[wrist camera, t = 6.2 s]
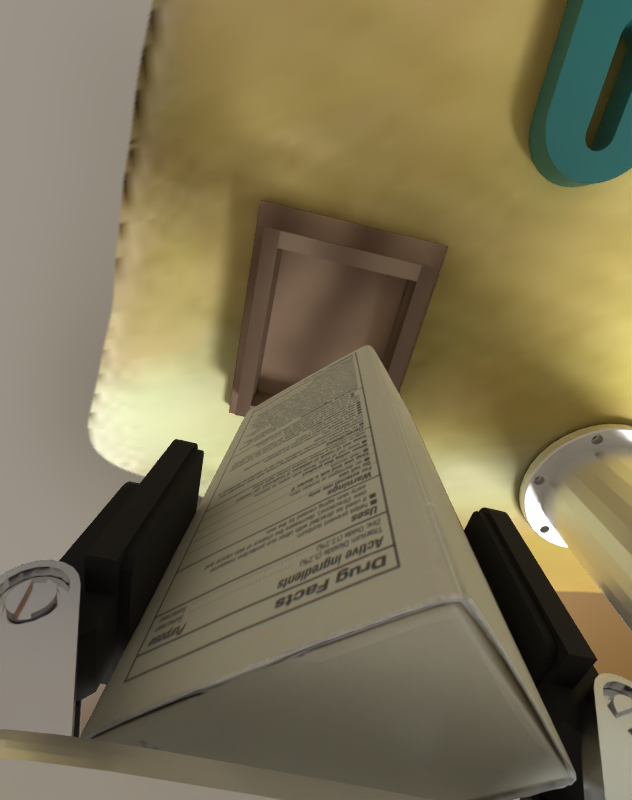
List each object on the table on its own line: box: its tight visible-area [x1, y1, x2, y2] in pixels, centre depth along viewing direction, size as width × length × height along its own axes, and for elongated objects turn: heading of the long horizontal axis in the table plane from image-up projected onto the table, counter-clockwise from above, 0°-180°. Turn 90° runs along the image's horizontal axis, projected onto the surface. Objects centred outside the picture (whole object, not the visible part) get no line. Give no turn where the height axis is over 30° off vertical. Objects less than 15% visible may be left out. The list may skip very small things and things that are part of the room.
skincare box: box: [80, 345, 576, 800], centre depth 11 cm, size 6×4×12 cm
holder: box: [229, 200, 448, 417], centre depth 28 cm, size 13×16×4 cm
